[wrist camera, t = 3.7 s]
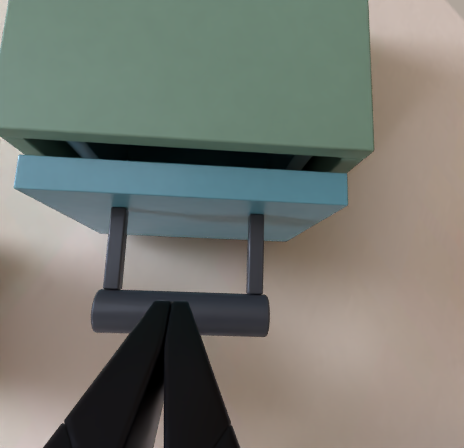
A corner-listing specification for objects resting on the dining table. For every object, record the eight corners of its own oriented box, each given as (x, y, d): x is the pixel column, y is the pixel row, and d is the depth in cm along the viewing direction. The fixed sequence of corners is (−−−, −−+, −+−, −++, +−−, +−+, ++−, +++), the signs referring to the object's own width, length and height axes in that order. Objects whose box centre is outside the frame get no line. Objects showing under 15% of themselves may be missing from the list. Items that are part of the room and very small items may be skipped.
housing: (292, 218, 23) (375, 151, 12) (97, 208, 23) (-15, 127, 11) (293, 23, 26) (361, -185, 15) (118, 8, 25) (46, -224, 14)
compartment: (286, 321, 21) (352, 348, 12) (91, 315, 20) (-11, 339, 11) (287, 48, 25) (340, -107, 15) (120, 35, 24) (62, -137, 14)
